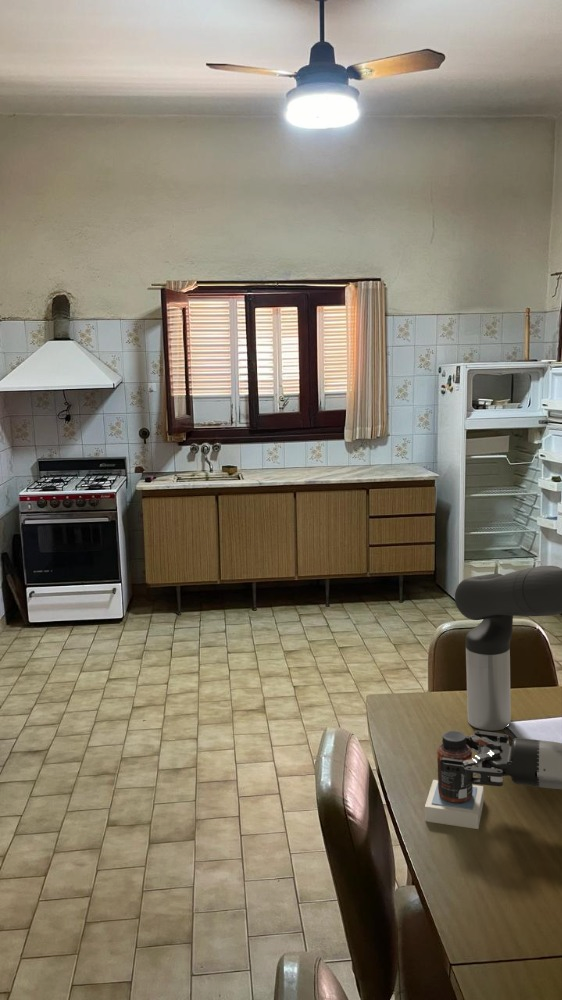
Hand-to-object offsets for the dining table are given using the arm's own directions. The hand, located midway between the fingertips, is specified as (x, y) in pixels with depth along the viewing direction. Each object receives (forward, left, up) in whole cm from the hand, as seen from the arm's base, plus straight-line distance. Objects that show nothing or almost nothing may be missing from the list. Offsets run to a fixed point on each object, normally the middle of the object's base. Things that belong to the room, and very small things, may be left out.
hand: (444, 752), depth 132 cm
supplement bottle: (0, +2, -8) cm, 8 cm away
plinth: (0, +2, -11) cm, 11 cm away
